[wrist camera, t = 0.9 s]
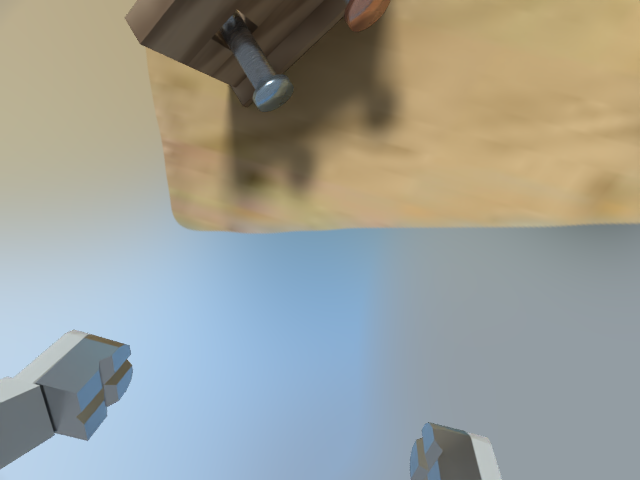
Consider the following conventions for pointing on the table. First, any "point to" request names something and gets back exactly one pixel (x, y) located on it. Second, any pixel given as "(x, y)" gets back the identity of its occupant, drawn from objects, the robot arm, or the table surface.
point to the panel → (209, 45)
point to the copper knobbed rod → (363, 13)
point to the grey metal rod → (256, 65)
